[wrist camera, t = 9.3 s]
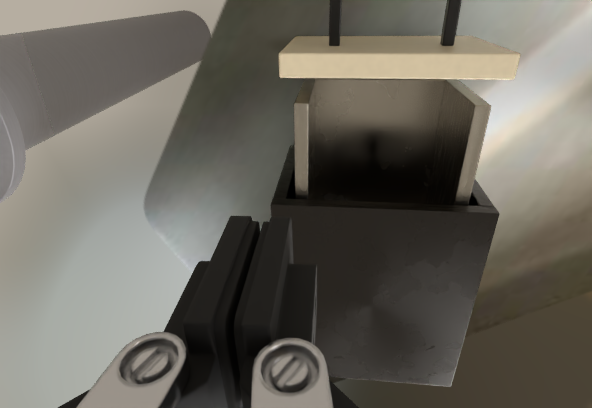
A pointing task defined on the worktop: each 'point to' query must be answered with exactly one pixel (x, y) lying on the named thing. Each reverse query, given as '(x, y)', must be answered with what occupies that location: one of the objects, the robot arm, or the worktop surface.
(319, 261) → the black rectangular box
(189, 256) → the worktop surface
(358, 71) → the beige drawer
